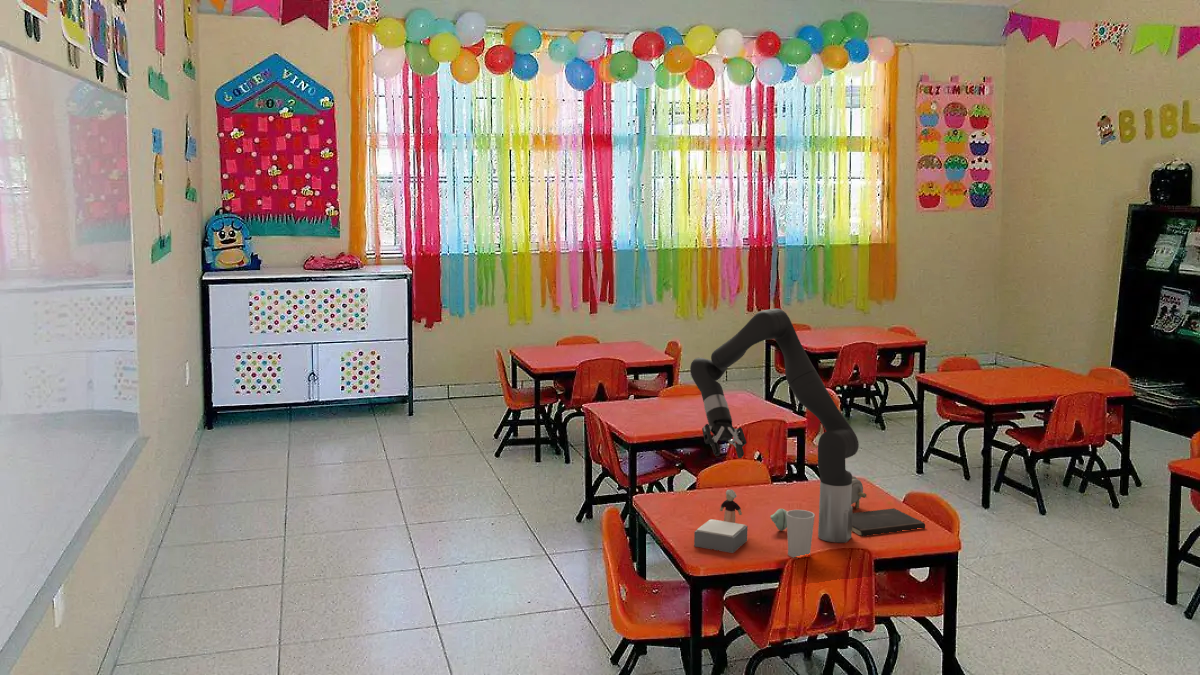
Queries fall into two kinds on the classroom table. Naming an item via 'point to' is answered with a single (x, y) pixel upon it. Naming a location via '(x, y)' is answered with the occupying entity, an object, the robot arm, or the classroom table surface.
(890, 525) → the hardcover book
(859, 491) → the toy sheep
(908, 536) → the classroom table surface
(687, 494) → the classroom table surface
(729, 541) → the plinth
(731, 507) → the grandmother figurine
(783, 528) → the robot head
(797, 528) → the cup
